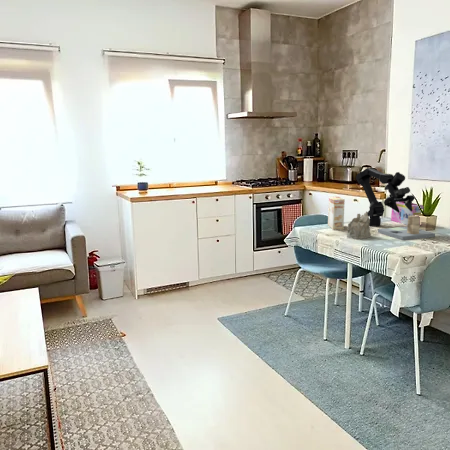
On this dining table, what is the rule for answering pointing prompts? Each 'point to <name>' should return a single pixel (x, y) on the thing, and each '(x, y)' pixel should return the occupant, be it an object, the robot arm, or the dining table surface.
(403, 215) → the gum box
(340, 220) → the coffeecake box
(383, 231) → the board
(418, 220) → the beech post
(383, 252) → the dining table surface
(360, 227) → the grey rough lump
